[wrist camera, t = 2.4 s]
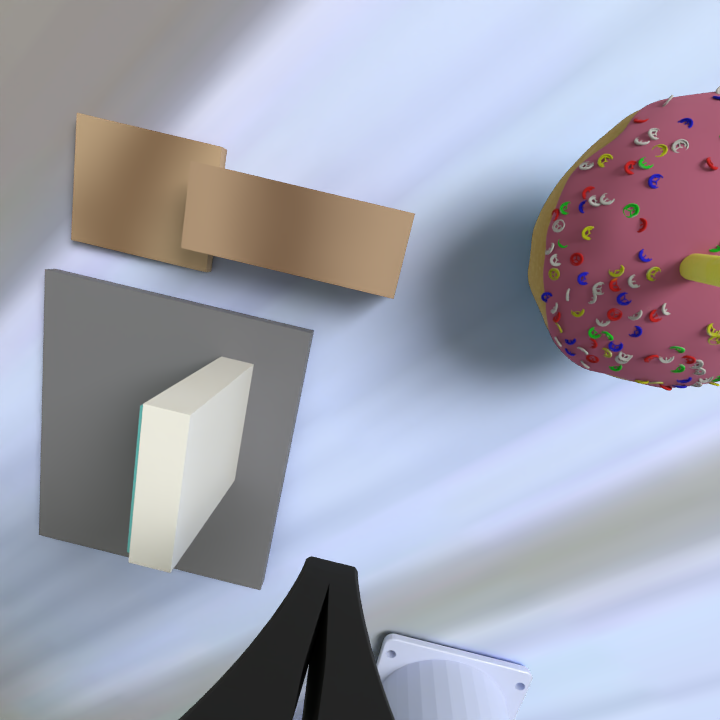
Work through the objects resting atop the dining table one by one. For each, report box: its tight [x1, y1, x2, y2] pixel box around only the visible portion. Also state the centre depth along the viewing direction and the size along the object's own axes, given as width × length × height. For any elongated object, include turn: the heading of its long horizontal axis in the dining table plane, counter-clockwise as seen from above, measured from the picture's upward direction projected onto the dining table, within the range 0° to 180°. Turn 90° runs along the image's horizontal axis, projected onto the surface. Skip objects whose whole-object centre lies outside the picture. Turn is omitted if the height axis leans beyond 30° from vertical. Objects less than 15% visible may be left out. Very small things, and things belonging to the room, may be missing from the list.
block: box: [127, 357, 254, 573], centre depth 16 cm, size 6×2×6 cm, turn 167°
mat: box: [39, 269, 314, 590], centre depth 20 cm, size 14×12×1 cm
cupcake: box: [528, 87, 720, 391], centre depth 11 cm, size 9×8×12 cm
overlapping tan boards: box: [71, 113, 415, 299], centre depth 16 cm, size 14×5×3 cm, turn 77°
